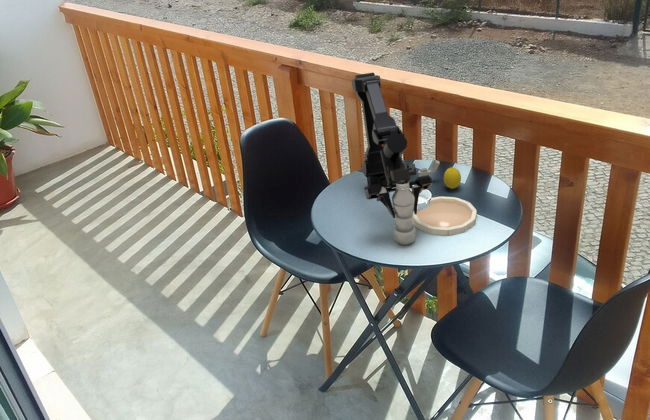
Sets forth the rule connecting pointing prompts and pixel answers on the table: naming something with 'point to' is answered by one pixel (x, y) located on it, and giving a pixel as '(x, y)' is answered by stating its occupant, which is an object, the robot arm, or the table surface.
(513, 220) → the table surface
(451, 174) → the lemon
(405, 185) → the plastic bottle
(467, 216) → the round tray
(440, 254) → the table surface
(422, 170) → the lighter
